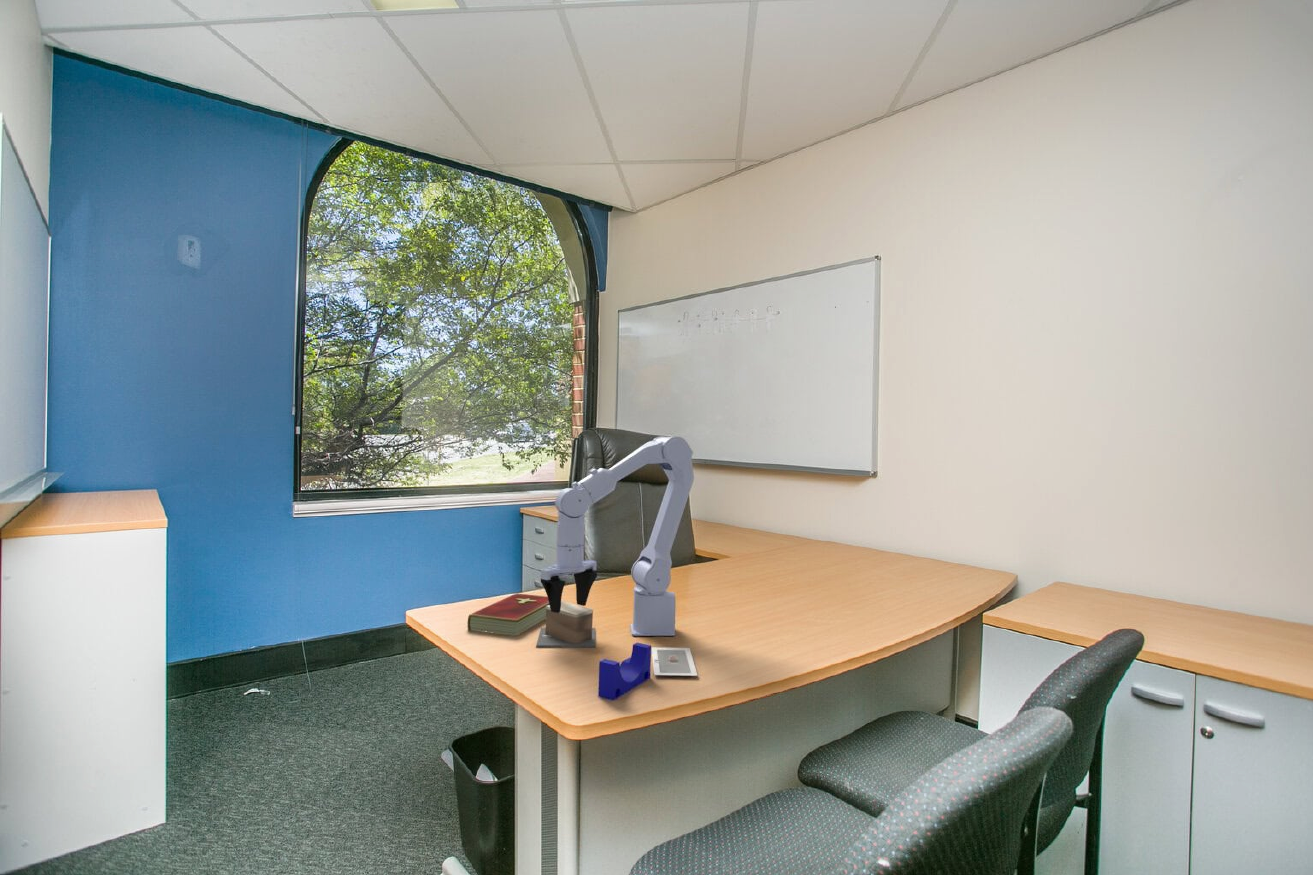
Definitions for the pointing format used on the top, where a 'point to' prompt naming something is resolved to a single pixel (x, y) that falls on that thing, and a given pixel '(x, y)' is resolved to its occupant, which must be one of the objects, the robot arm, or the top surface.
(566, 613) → the card box
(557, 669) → the top surface
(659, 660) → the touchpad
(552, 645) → the mat
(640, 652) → the blue cradle bracket
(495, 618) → the hardcover book
